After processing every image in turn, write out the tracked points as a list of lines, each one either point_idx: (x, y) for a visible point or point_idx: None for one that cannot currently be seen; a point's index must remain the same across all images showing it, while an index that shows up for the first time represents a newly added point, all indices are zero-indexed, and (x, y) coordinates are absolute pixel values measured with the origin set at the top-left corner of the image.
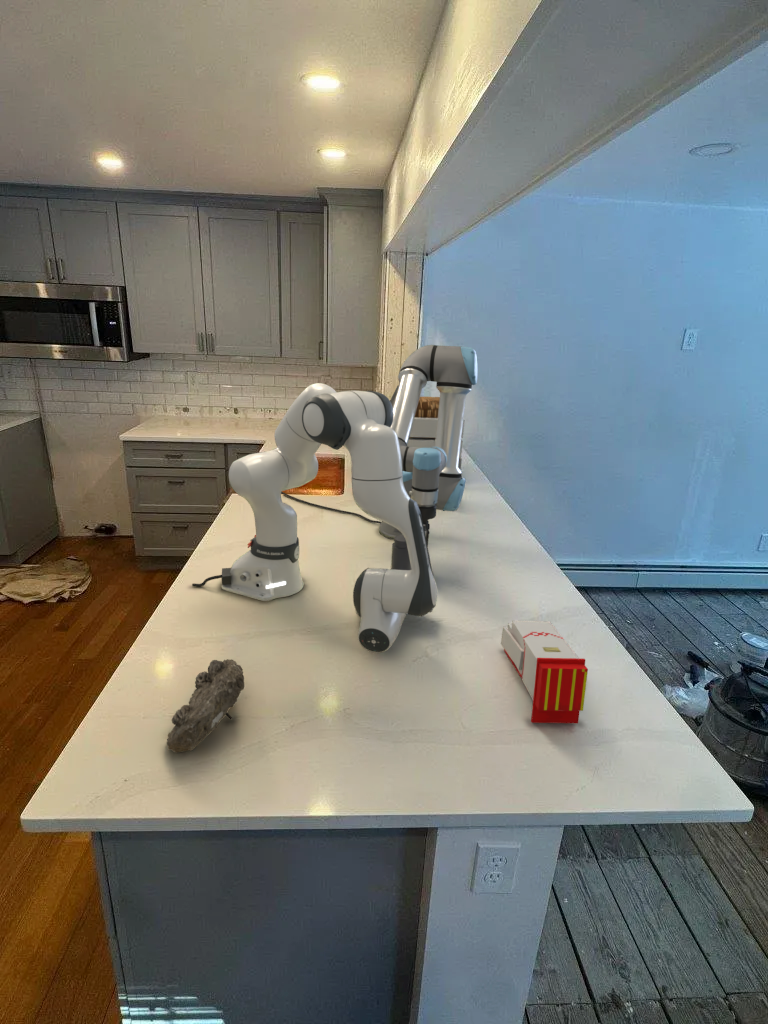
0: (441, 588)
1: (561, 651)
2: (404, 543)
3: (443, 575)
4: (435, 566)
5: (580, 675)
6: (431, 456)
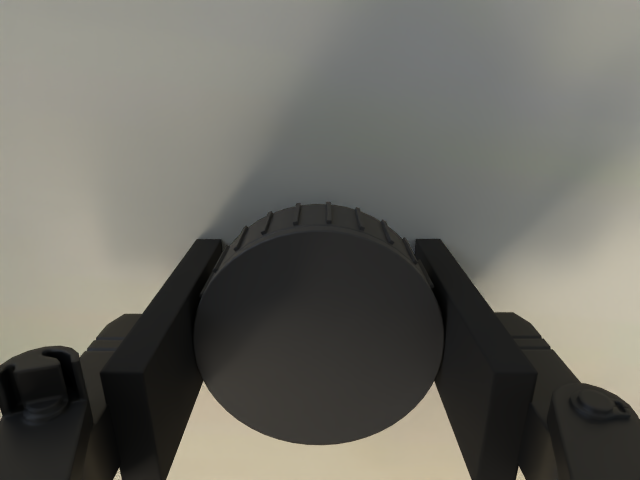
0: (594, 80)
1: None
2: None
3: (283, 5)
4: (53, 72)
5: None
6: None
